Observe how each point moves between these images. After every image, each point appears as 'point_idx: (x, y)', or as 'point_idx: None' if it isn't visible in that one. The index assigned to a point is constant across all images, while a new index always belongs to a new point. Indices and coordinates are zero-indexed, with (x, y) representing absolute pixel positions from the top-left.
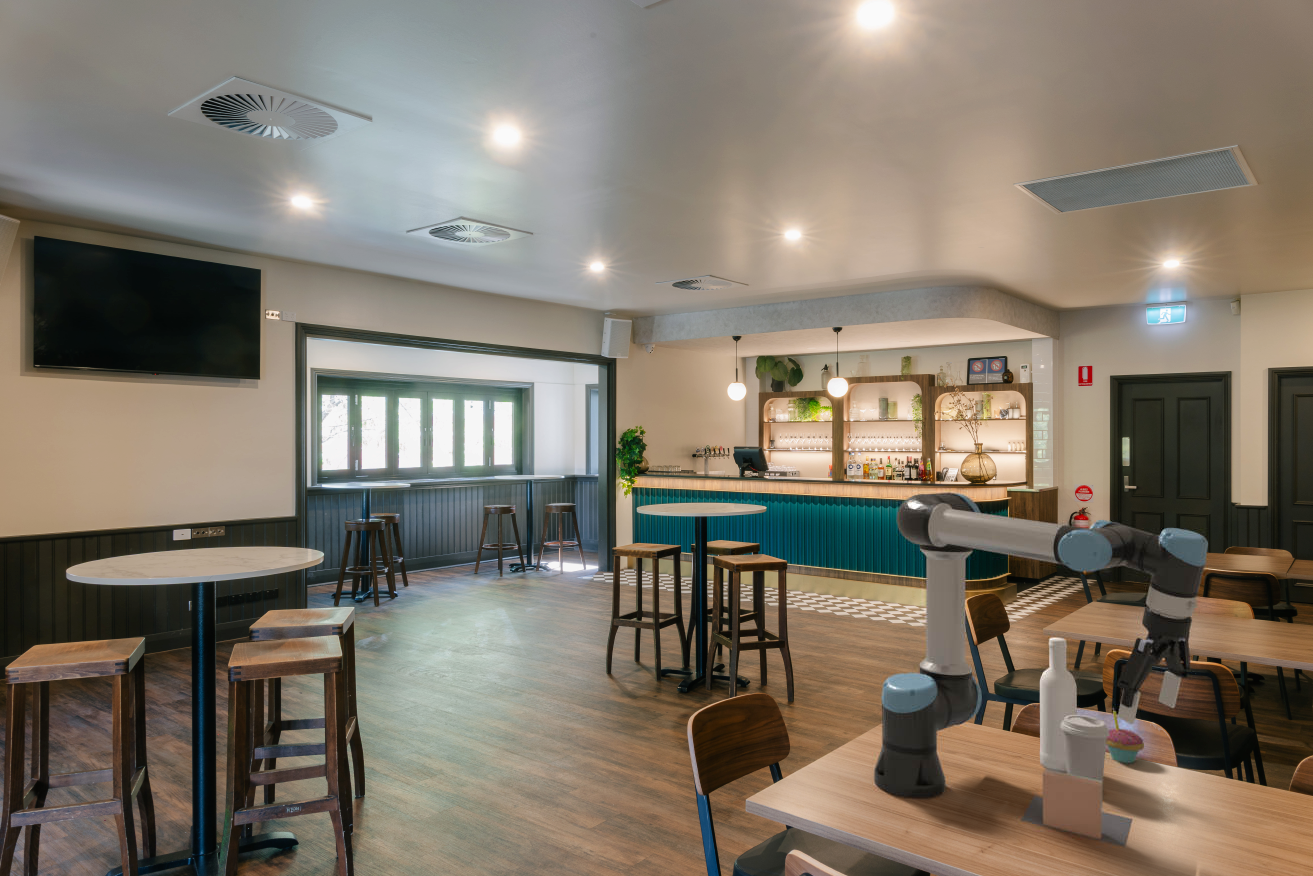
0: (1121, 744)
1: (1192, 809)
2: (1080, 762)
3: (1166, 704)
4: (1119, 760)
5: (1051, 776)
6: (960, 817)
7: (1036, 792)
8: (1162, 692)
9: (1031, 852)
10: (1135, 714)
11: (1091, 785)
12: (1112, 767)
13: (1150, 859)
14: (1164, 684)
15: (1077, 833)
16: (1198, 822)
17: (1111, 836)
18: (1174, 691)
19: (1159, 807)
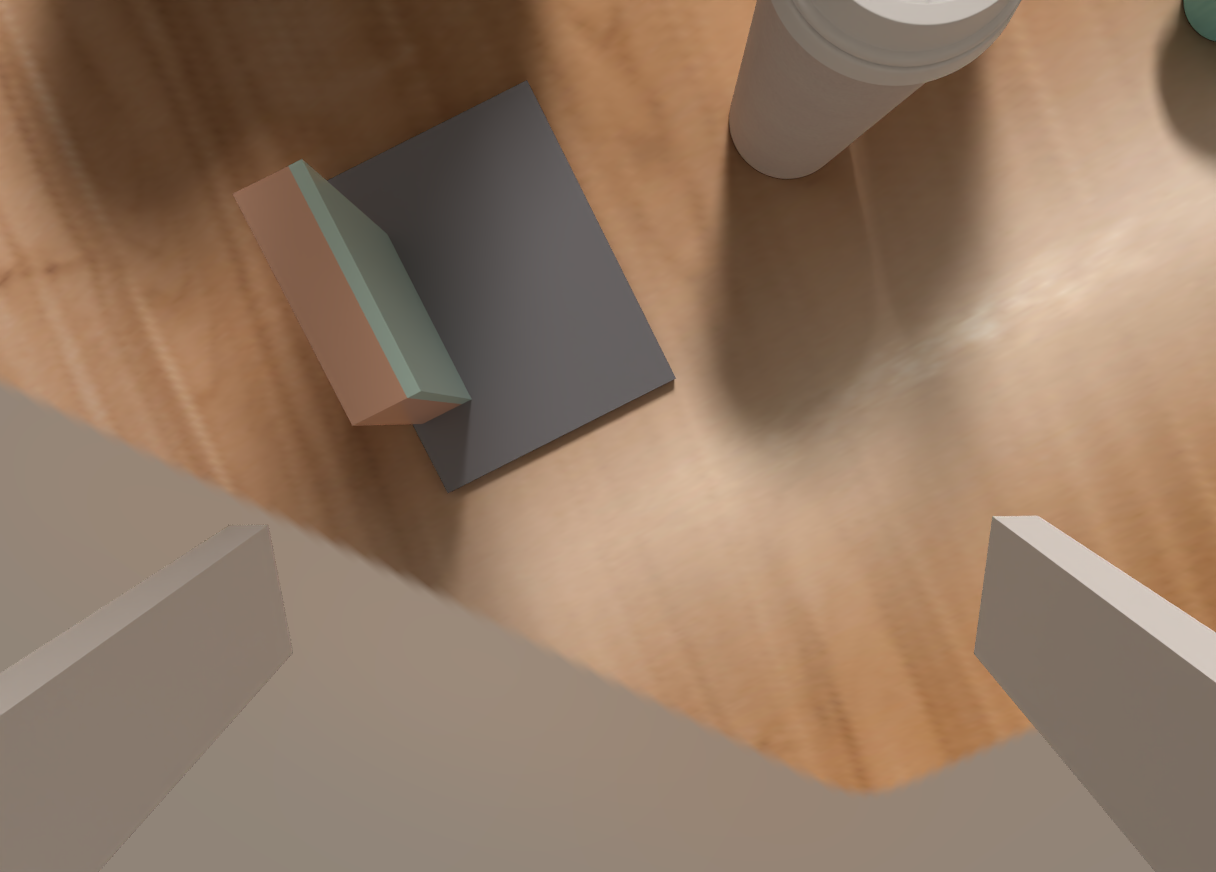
0: None
1: (975, 417)
2: (753, 79)
3: (984, 602)
4: (1188, 7)
5: (253, 232)
6: (135, 67)
7: (585, 51)
8: (1070, 598)
9: (150, 361)
10: (225, 721)
11: (336, 392)
12: (1098, 34)
13: (466, 567)
14: (1165, 685)
15: None
16: (884, 487)
17: (477, 427)
18: (1107, 797)
19: (883, 352)
